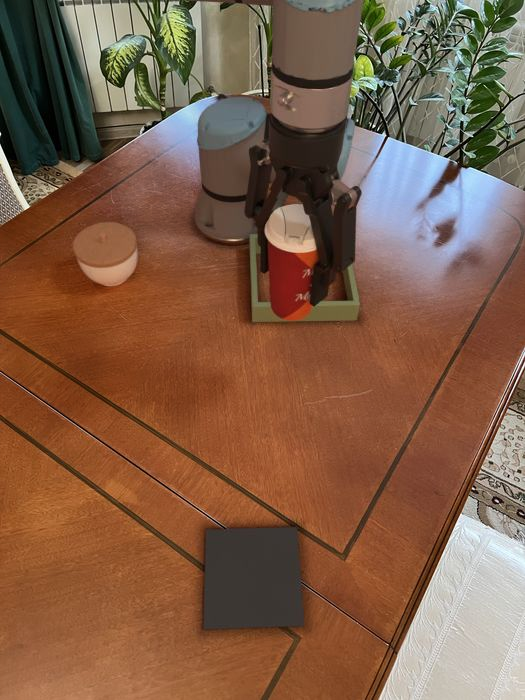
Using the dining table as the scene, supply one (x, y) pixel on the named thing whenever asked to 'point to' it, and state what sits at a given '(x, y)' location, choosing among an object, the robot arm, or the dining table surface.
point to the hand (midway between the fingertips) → (293, 283)
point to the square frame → (319, 312)
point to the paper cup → (290, 261)
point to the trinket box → (106, 252)
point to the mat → (252, 579)
